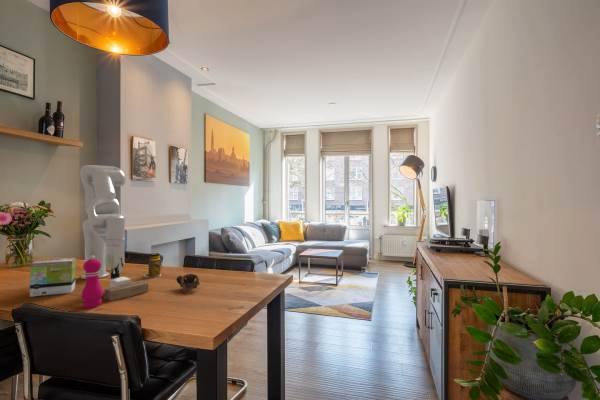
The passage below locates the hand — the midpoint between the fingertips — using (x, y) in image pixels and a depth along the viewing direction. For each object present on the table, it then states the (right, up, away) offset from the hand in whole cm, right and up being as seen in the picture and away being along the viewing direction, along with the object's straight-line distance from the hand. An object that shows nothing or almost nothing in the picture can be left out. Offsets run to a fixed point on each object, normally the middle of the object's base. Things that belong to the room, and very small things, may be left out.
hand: (115, 281), depth 146 cm
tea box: (-26, -4, -4) cm, 26 cm away
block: (+4, -4, -3) cm, 7 cm away
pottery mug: (+33, -5, +2) cm, 34 cm away
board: (+9, -4, -7) cm, 12 cm away
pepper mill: (+3, -5, -21) cm, 21 cm away
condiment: (+5, -4, +27) cm, 28 cm away
